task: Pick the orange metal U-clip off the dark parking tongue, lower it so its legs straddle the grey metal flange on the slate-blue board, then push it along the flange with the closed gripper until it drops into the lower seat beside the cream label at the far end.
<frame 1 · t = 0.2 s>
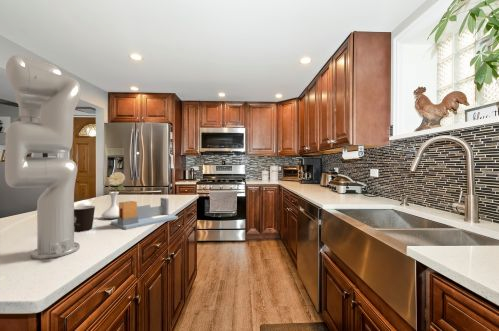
hand: (30, 160, 107), 31 cm above the counter, fingers open, 9 cm apart
flower in vase: (115, 218, 128), on the counter
rail: (146, 221, 121), on the counter
coffee mug: (83, 229, 106), on the counter
clip: (127, 216, 112), point 4 cm above the counter, touching rail
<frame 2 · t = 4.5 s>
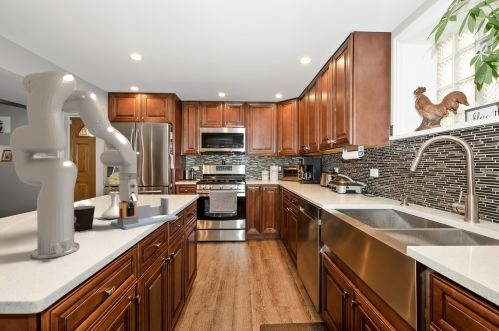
hand: (127, 214, 112), 5 cm above the counter, fingers closed on clip, 5 cm apart
clip: (127, 216, 112), point 4 cm above the counter, touching gripper, rail
everything else where it was.
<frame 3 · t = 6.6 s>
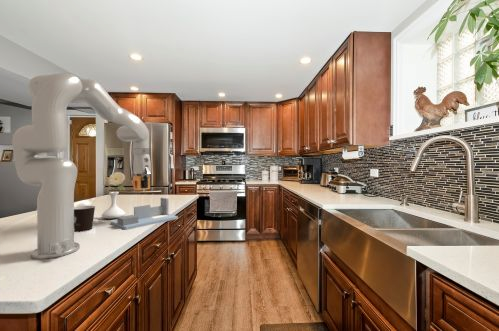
hand: (141, 187, 121), 17 cm above the counter, fingers closed on clip, 5 cm apart
clip: (141, 189, 121), point 16 cm above the counter, touching gripper
everything else where it was.
when the fingers open (5 cm above the counter, at t = 8.7 s): clip stays where it is, resting on rail.
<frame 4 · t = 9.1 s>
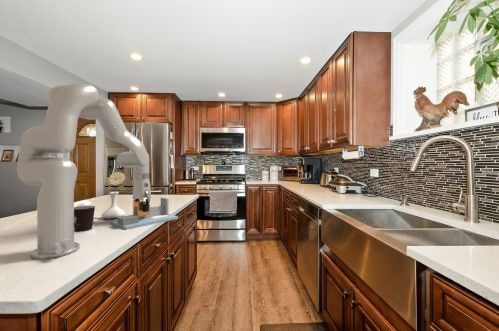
hand: (141, 210, 121), 5 cm above the counter, fingers open, 8 cm apart
clip: (141, 214, 121), point 3 cm above the counter, touching rail
everything else where it was.
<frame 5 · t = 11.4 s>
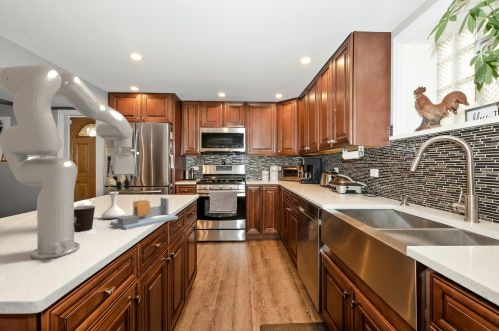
hand: (123, 189, 114), 17 cm above the counter, fingers closed
nothing on the counter moved.
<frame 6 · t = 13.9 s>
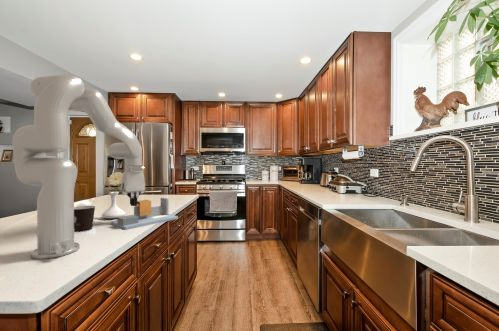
hand: (133, 205, 118), 8 cm above the counter, fingers closed
clip: (143, 214, 122), point 3 cm above the counter, touching gripper
everything else where it was.
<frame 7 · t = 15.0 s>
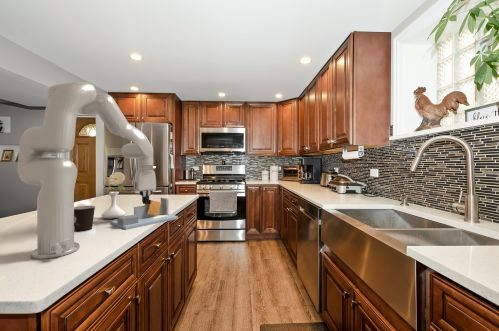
hand: (145, 203, 123), 9 cm above the counter, fingers closed
clip: (150, 213, 125), point 3 cm above the counter, tilted 18°, touching gripper
everything else where it was.
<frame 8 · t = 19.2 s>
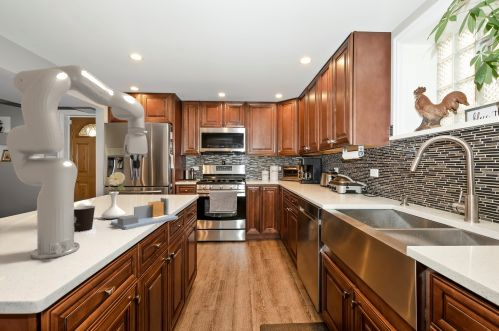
hand: (136, 168, 119), 27 cm above the counter, fingers closed
clip: (155, 215, 127), point 2 cm above the counter, touching rail
everything else where it was.
at the end: clip 0.6 cm from the target spot on the rail, point 1.7 cm above the rail's base; clip tilted 0°; the gripper is holding nothing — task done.
